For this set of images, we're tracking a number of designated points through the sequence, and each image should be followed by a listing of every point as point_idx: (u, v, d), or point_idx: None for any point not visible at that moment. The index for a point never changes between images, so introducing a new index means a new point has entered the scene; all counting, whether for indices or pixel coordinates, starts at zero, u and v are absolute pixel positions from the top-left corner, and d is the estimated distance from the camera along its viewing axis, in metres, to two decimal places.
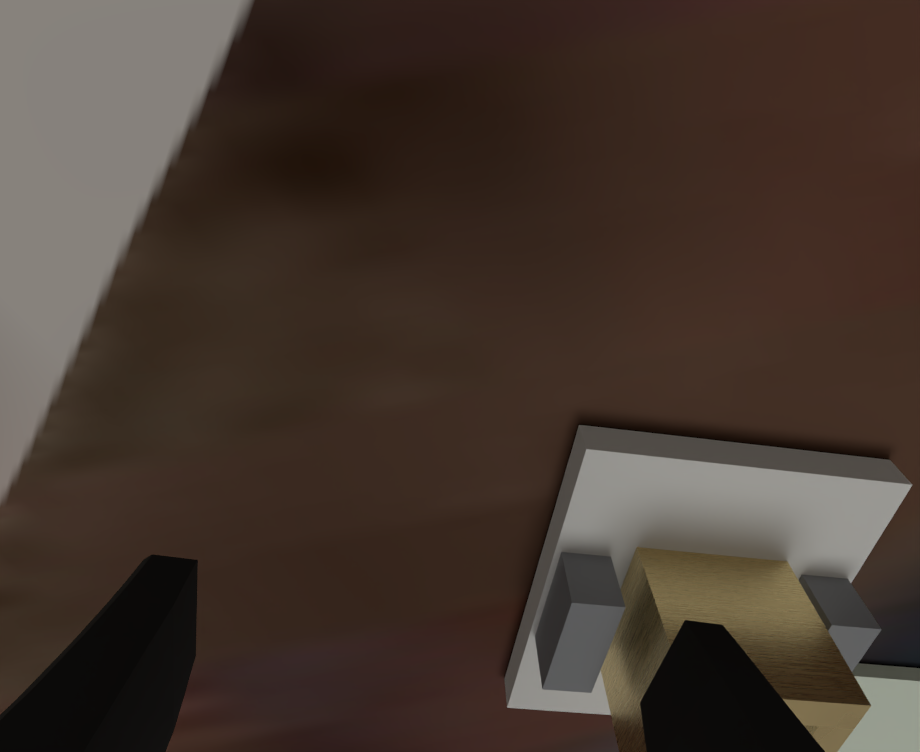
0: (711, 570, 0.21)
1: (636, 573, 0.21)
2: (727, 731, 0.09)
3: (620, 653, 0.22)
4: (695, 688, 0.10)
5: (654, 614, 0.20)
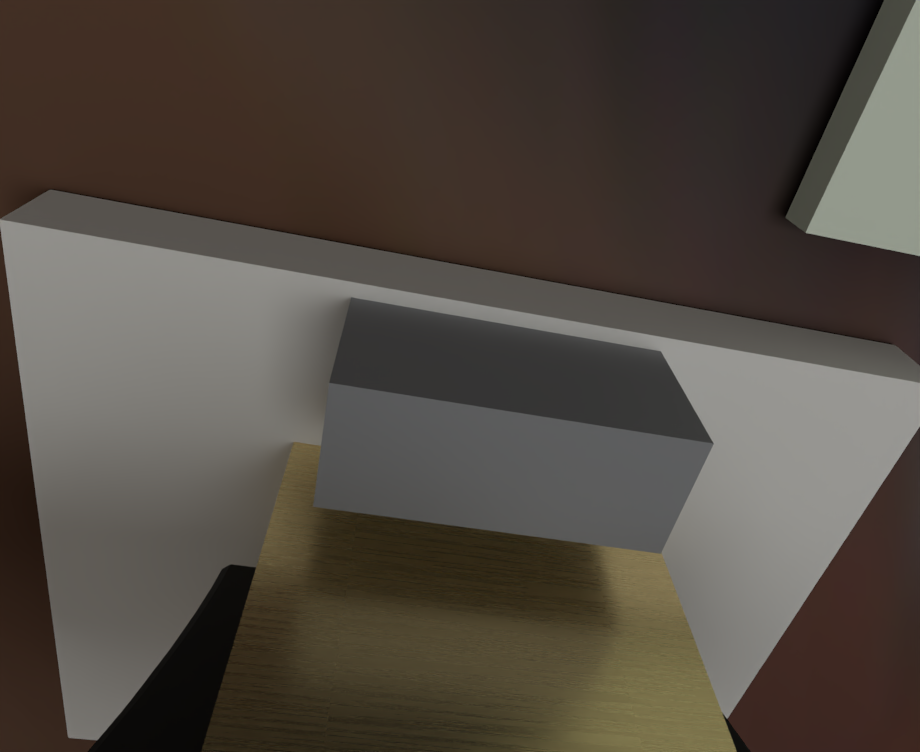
0: None
1: None
2: None
3: None
4: None
5: None
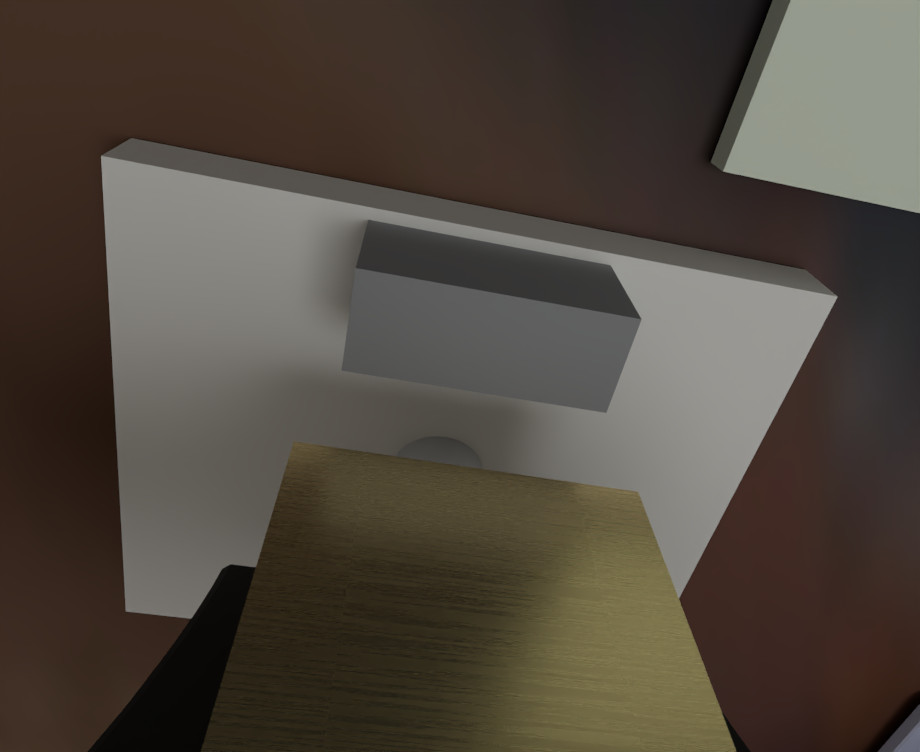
0: None
1: None
2: None
3: None
4: None
5: None
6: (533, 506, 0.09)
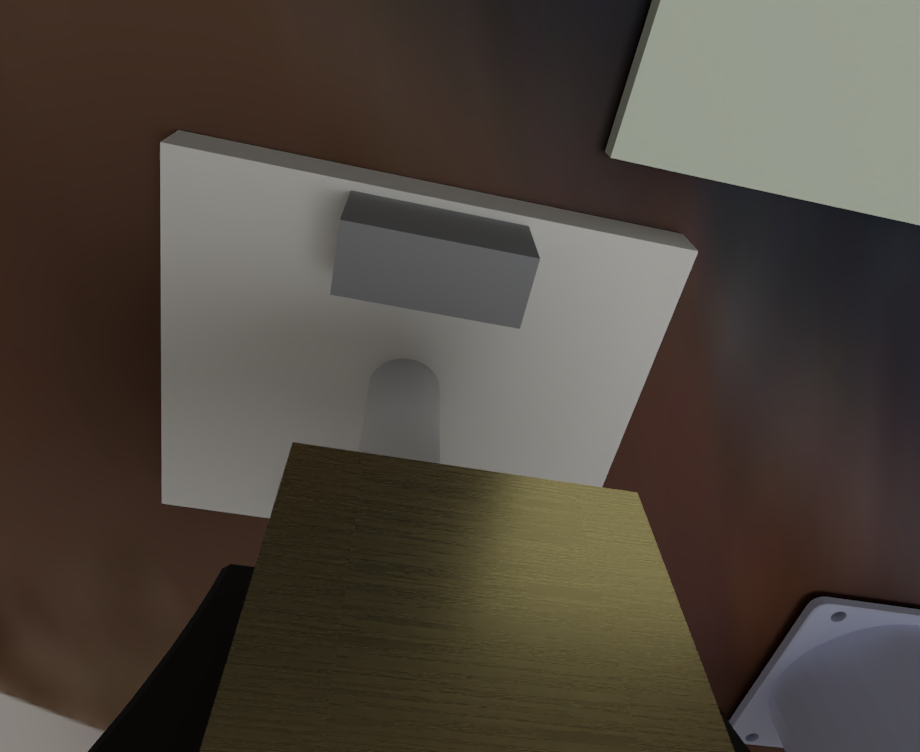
0: None
1: None
2: None
3: None
4: None
5: None
6: (532, 507, 0.09)
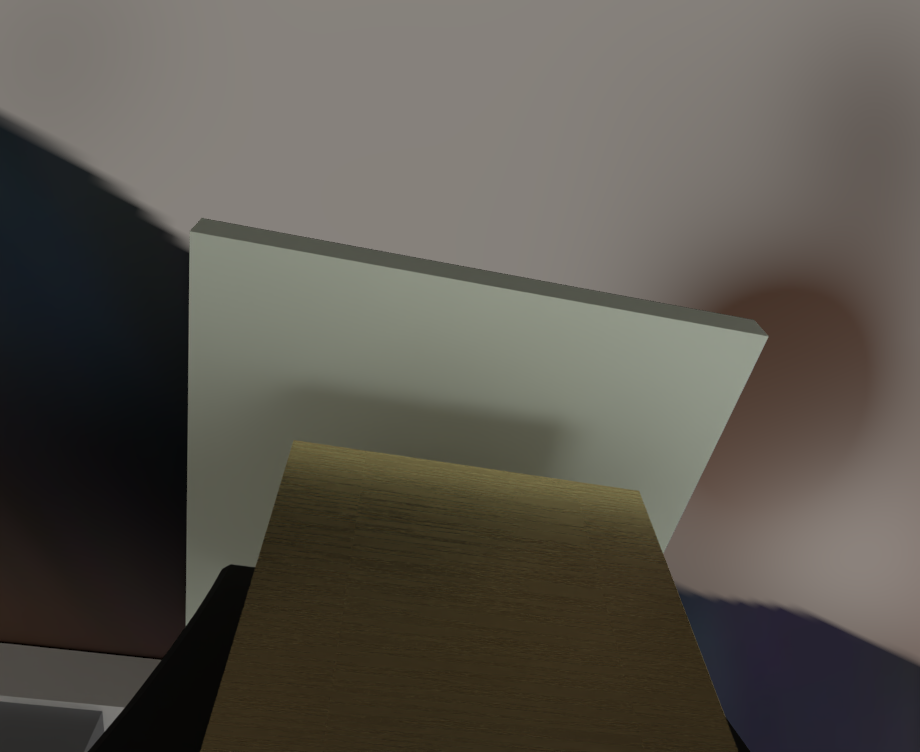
0: None
1: None
2: None
3: None
4: None
5: None
6: (534, 505, 0.09)
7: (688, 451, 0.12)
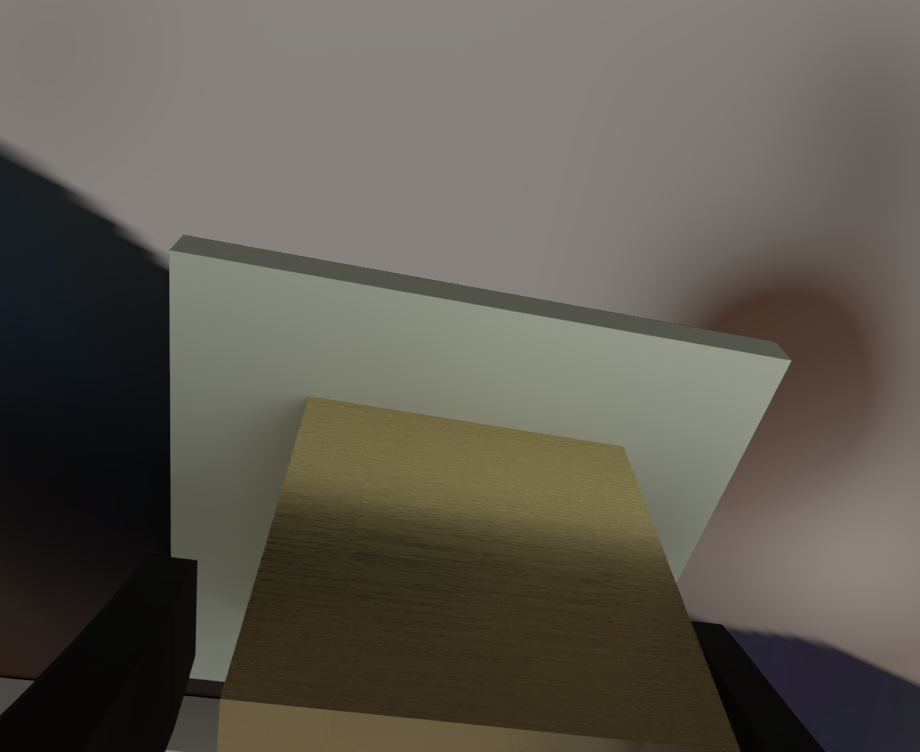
0: None
1: None
2: None
3: None
4: None
5: None
6: (527, 456, 0.10)
7: (704, 480, 0.12)
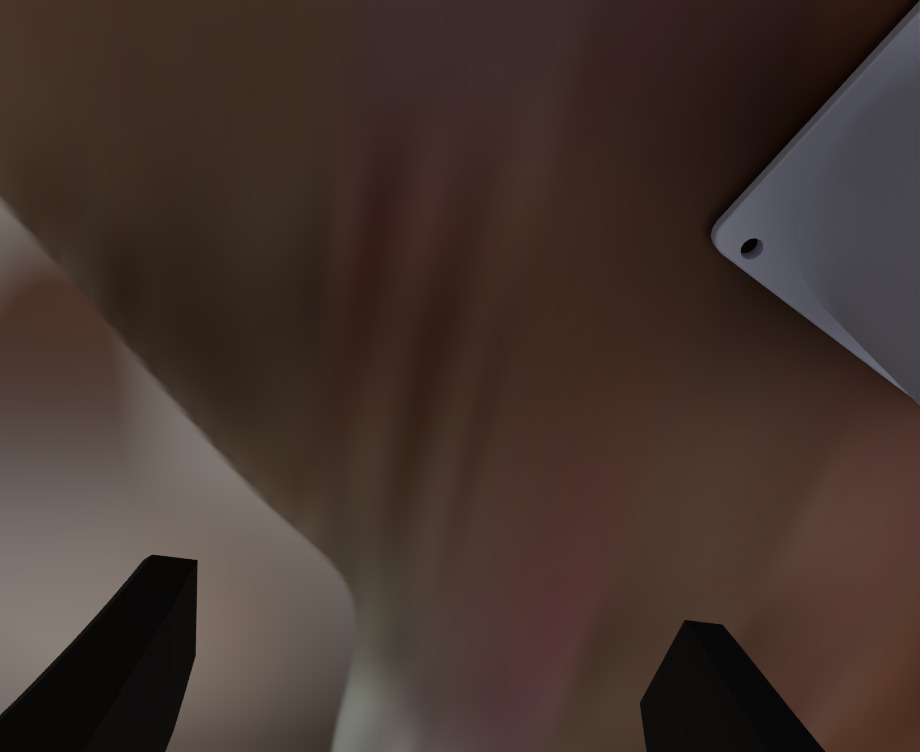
0: None
1: None
2: (727, 731, 0.09)
3: None
4: (695, 688, 0.10)
5: None
6: None
7: None
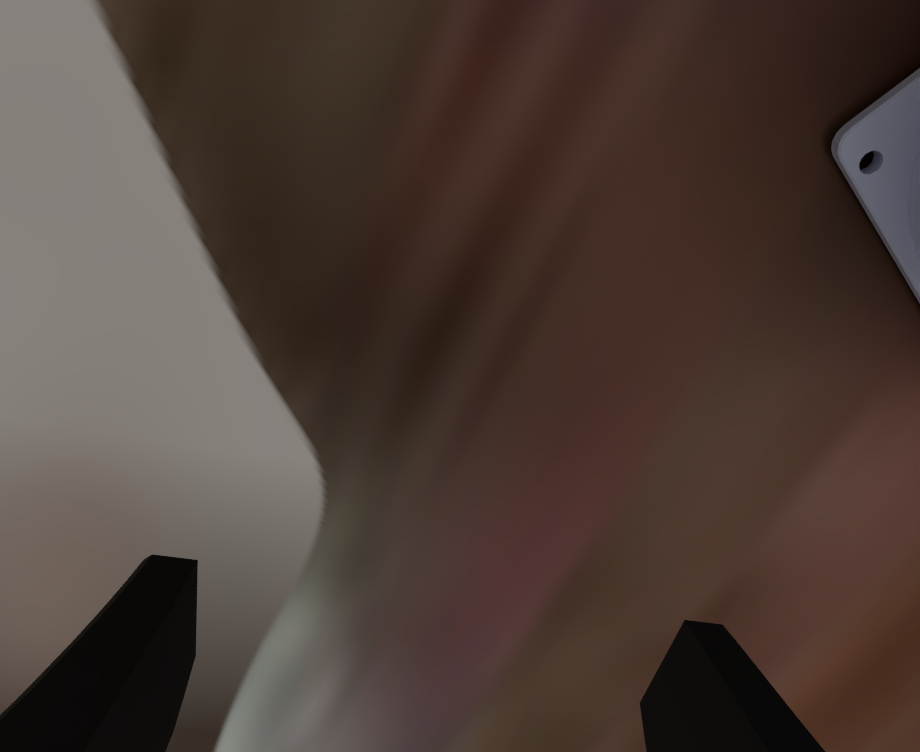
0: None
1: None
2: (727, 731, 0.09)
3: None
4: (695, 688, 0.10)
5: None
6: None
7: None
